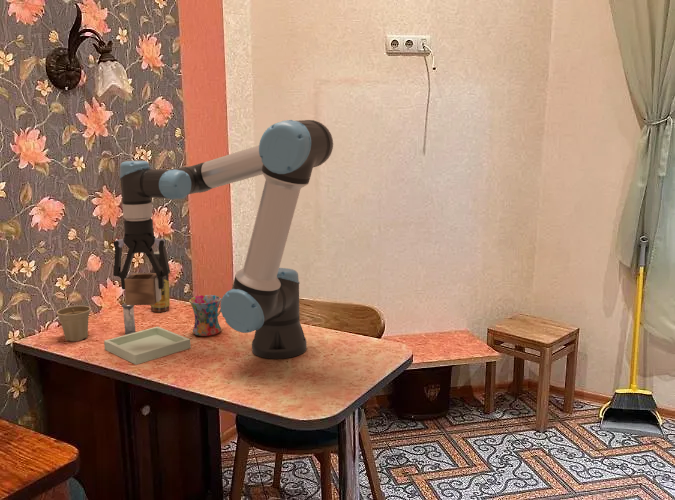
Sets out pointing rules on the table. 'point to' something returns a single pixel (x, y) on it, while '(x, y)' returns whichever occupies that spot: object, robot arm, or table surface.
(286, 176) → the robot arm
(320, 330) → the table surface
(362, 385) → the table surface
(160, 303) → the sauce bottle
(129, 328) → the grey salt shaker
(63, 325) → the flower pot
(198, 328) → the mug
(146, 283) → the collar
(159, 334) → the tray
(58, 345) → the table surface
